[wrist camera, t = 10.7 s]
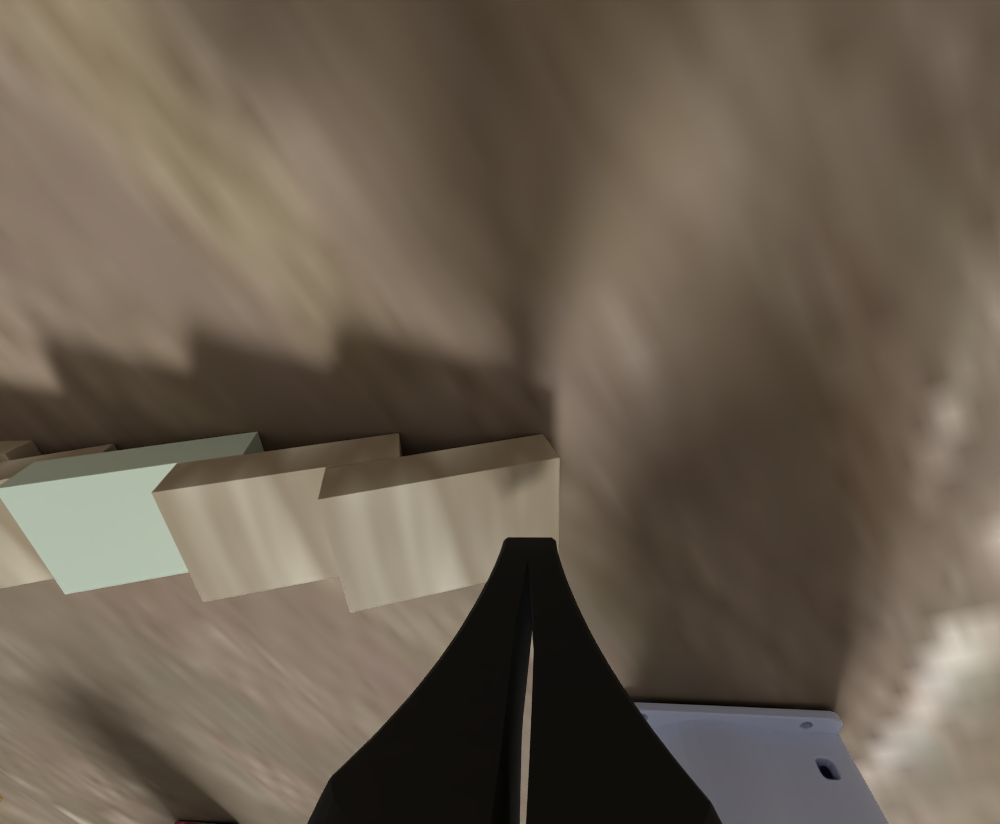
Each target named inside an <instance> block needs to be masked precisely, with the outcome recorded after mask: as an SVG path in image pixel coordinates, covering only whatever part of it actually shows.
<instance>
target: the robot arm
mask: <svg viewBox="0 0 1000 824" xmlns="http://www.w3.org/2000/svg"><path fill="white" fill-rule="evenodd" d="M532 633H533V646H534V659H533V688H532V714H531V737H530V759H529V779H528V799H527V817H526V824H889V823H888V821H887V820H886V818H885V816H884V814H883V813H882V811H881V809H880V807H879V805H878V804H877V802H876V800H875V798H874V796H873V795H872V793H871V791H870V789H869V788H868V786H867V784H866V782H865V780H864V779H863V777H862V775H861V773H860V771H859V770H858V768H857V766H856V764H855V763H854V761H853V759H852V757H851V755H850V754H849V752H848V750H847V748H846V746H845V745H844V743H843V741H842V739H841V737H840V736H839V733H840V730H841V728H842V726H843V723H842V721H841V720H840V718H839V716H838V715H837V714H836V713H834V712H832V711H822V710H800V709H777V708H755V707H733V706H710V705H688V704H666V703H643V702H633V701H632V699H631V698H630V697H629V695H628V694H627V692H626V691H625V689H624V688H623V686H622V685H621V683H620V681H619V680H618V678H617V677H616V675H615V674H614V672H613V670H612V669H611V667H610V666H609V664H608V662H607V660H606V659H605V657H604V655H603V654H602V652H601V650H600V648H599V647H598V645H597V643H596V641H595V639H594V638H593V636H592V634H591V632H590V630H589V628H588V626H587V624H586V622H585V620H584V618H583V616H582V614H581V612H580V610H579V608H578V605H577V603H576V601H575V599H574V596H573V594H572V592H571V589H570V587H569V584H568V582H567V579H566V577H565V574H564V571H563V568H562V565H561V562H560V558H559V554H558V550H557V544H556V540H554V539H553V538H552V537H507V538H506V539H505V540H504V541H503V545H502V548H501V551H500V553H499V556H498V558H497V561H496V563H495V565H494V568H493V570H492V572H491V574H490V576H489V578H488V580H487V582H486V584H485V586H484V588H483V590H482V592H481V594H480V596H479V598H478V599H477V601H476V603H475V605H474V606H473V608H472V610H471V611H470V613H469V615H468V616H467V618H466V620H465V622H464V623H463V625H462V626H461V628H460V630H459V631H458V633H457V634H456V636H455V637H454V639H453V640H452V642H451V643H450V645H449V646H448V647H447V649H446V650H445V652H444V653H443V654H442V656H441V657H440V659H439V660H438V661H437V663H436V664H435V665H434V667H433V668H432V669H431V670H430V672H429V673H428V674H427V676H426V677H425V678H424V679H423V681H422V682H421V683H420V684H419V686H418V687H417V688H416V689H415V690H414V692H413V693H412V694H411V695H410V696H409V698H408V699H407V700H406V701H405V702H404V703H403V704H402V705H401V706H400V708H399V709H398V710H397V711H396V712H395V713H394V714H393V715H392V716H391V717H390V719H389V720H388V721H387V722H386V723H385V724H384V725H383V726H382V727H381V728H380V730H379V731H378V732H377V733H376V734H375V735H374V736H373V737H372V738H371V739H370V740H369V741H368V742H367V743H366V744H365V745H364V746H363V747H361V748H360V749H359V750H358V751H357V752H356V753H355V754H354V755H353V756H352V757H351V758H350V759H349V760H348V761H347V762H346V763H345V764H344V765H343V766H342V767H341V768H340V769H339V770H338V771H337V772H336V773H335V774H334V775H332V777H331V778H330V779H329V781H328V783H327V785H326V787H325V789H324V791H323V793H322V795H321V796H320V798H319V800H318V803H317V805H316V807H315V809H314V811H313V813H312V815H311V817H310V819H309V821H308V824H520V783H521V744H522V725H523V713H524V703H525V694H526V684H527V675H528V665H529V656H530V646H531V636H532Z"/></svg>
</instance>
